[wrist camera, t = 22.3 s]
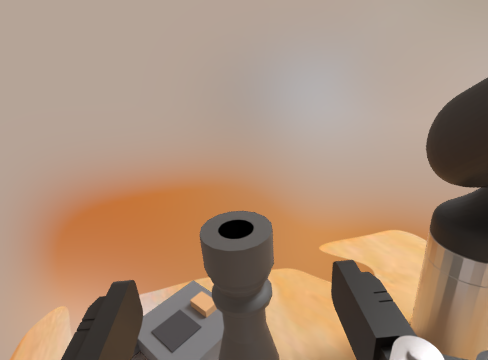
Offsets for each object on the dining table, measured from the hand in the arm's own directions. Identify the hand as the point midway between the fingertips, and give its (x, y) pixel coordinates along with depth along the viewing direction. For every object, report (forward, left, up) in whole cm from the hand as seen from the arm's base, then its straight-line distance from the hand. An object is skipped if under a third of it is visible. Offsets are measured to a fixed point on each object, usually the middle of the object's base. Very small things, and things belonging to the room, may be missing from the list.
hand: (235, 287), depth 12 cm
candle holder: (-8, -7, -29) cm, 31 cm away
